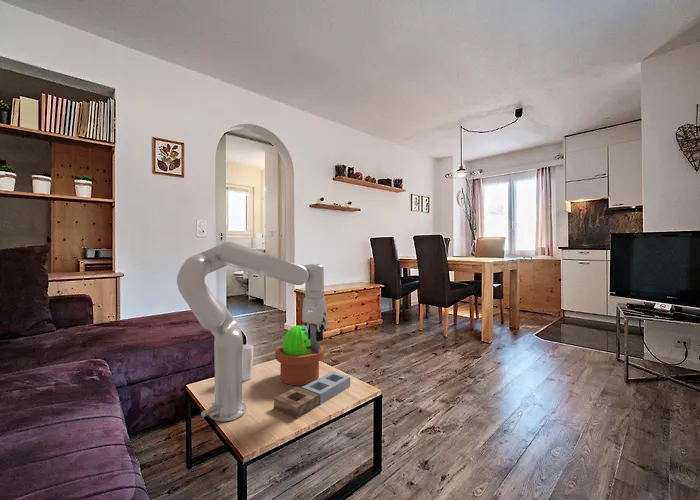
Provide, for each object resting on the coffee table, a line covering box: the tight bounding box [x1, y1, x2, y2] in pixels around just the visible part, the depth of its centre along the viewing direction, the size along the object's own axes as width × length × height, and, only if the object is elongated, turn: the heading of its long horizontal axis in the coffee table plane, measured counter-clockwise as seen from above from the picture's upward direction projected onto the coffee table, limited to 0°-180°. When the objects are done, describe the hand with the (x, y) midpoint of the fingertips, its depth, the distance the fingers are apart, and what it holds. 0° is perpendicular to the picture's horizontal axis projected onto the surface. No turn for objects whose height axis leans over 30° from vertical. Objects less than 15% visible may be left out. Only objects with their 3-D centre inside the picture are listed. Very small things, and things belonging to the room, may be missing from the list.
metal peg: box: [310, 323, 321, 354], centre depth 129 cm, size 4×4×14 cm
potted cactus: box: [274, 323, 325, 386], centre depth 149 cm, size 22×22×25 cm
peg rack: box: [301, 371, 351, 405], centre depth 136 cm, size 20×10×4 cm, turn 144°
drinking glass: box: [242, 343, 254, 382], centre depth 147 cm, size 7×7×15 cm
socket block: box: [273, 386, 320, 420], centre depth 122 cm, size 12×12×4 cm
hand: (315, 339), depth 129 cm, fingers closed on metal peg, 4 cm apart
